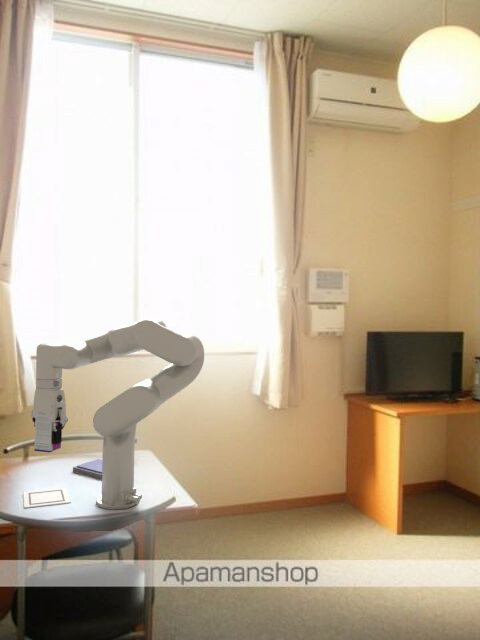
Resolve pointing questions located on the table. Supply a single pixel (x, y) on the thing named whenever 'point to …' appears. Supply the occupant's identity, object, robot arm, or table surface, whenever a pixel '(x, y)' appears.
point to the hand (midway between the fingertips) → (48, 441)
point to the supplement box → (44, 434)
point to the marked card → (46, 497)
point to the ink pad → (90, 469)
